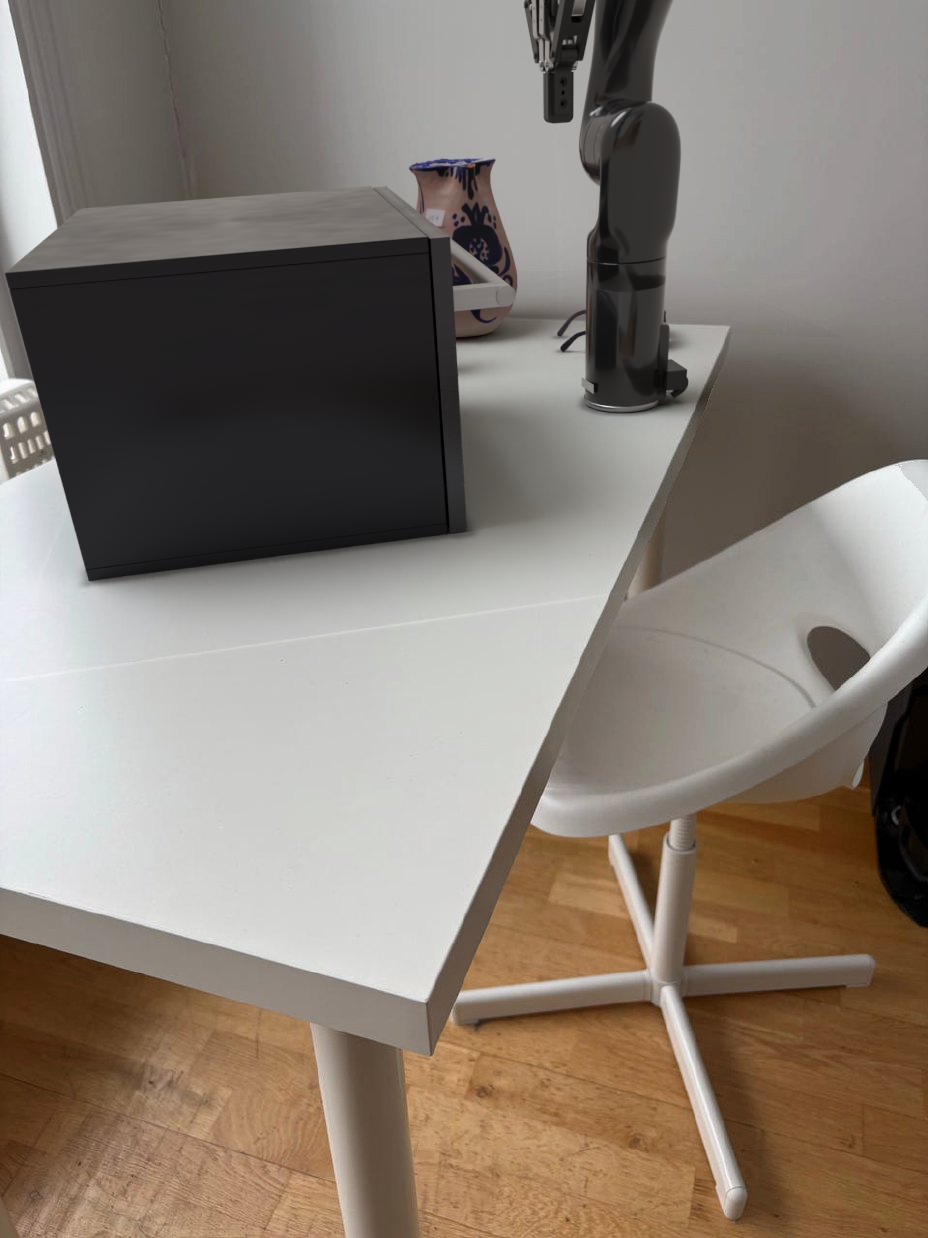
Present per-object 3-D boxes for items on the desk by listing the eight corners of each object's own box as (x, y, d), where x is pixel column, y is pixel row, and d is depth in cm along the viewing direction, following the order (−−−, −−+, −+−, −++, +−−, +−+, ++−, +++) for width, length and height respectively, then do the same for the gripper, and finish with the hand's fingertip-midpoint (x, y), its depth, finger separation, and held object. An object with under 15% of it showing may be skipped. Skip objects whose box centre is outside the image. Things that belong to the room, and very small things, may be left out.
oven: (390, 407, 124) (370, 185, 112) (447, 535, 90) (427, 236, 77) (132, 436, 120) (80, 208, 107) (88, 582, 86) (4, 272, 73)
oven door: (454, 399, 126) (441, 181, 113) (534, 522, 91) (528, 229, 79) (392, 406, 124) (372, 187, 112) (450, 533, 90) (430, 238, 77)
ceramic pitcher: (439, 352, 147) (427, 169, 134) (383, 326, 163) (368, 161, 151) (539, 333, 153) (536, 158, 141) (475, 310, 170) (468, 151, 158)
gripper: (635, -153, 69) (627, 122, 77) (579, -121, 80) (578, 116, 89) (531, -150, 68) (535, 129, 76) (490, -118, 79) (497, 121, 88)
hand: (558, 121), depth 83 cm, fingers closed
